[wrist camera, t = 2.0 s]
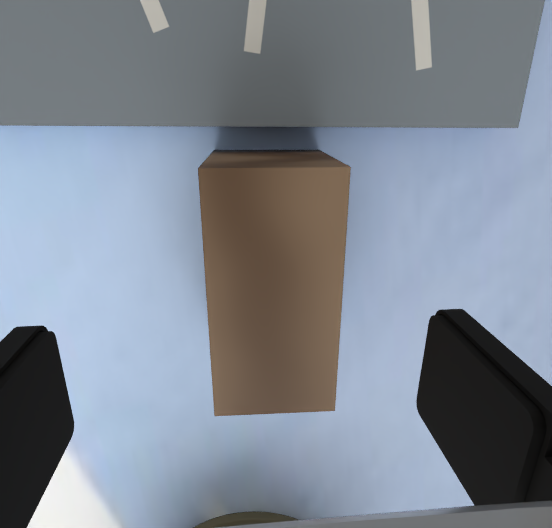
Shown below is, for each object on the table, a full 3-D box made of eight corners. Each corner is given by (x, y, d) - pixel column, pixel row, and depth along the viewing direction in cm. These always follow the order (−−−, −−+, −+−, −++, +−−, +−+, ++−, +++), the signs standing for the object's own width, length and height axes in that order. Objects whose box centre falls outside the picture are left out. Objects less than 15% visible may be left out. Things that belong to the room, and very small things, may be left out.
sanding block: (318, 149, 18) (350, 167, 12) (311, 329, 21) (334, 410, 15) (214, 149, 17) (197, 168, 12) (223, 332, 21) (214, 416, 15)
